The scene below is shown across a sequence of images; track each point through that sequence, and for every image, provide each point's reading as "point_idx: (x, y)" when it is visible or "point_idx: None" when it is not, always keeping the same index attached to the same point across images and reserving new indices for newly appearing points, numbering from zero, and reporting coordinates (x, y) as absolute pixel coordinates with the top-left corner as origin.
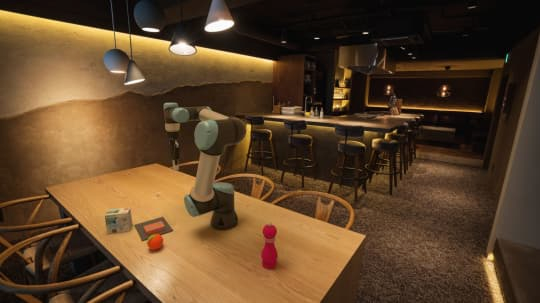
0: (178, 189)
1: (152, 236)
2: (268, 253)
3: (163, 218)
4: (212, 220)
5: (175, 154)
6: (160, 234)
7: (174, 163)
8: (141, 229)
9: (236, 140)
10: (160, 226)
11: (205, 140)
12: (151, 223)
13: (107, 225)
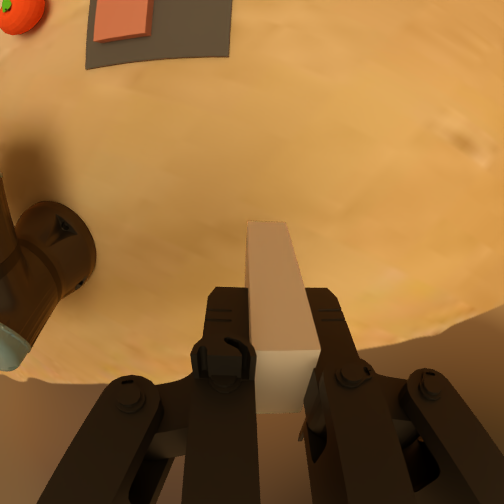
0: (452, 234)
1: (5, 4)
2: None
3: (206, 52)
4: (35, 214)
5: (42, 502)
6: (88, 25)
7: (247, 301)
8: None
9: None
10: (101, 24)
11: None
12: (195, 2)
13: None
